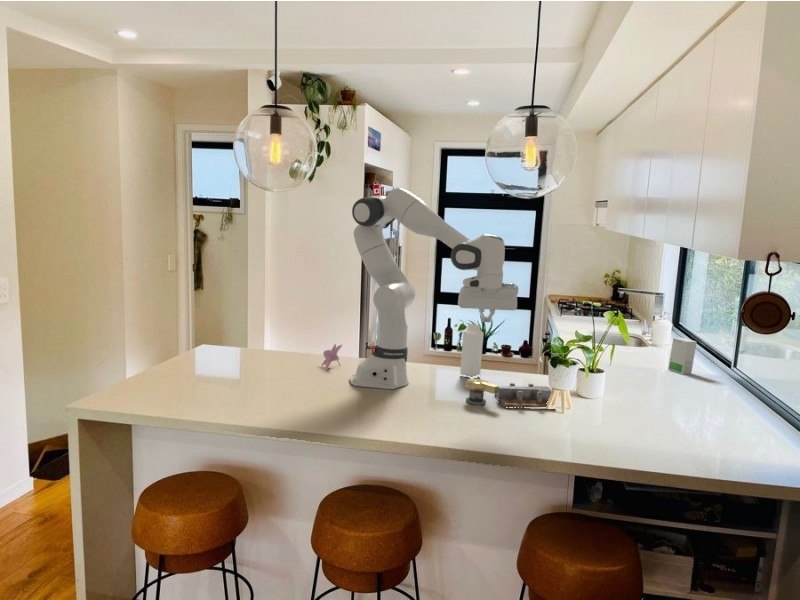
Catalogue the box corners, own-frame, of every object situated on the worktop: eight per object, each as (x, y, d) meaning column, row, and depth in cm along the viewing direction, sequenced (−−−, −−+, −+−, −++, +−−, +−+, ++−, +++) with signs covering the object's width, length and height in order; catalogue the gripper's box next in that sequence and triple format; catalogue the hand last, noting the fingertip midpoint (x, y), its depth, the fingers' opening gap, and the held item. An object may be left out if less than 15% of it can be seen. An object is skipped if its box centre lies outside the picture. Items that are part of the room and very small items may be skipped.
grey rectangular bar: (499, 400, 200) (500, 389, 200) (495, 395, 205) (496, 384, 205) (551, 401, 202) (552, 390, 202) (546, 397, 207) (547, 386, 206)
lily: (324, 364, 244) (315, 346, 240) (350, 355, 244) (342, 337, 239) (324, 380, 233) (315, 361, 229) (351, 370, 233) (343, 352, 229)
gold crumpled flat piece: (461, 386, 200) (461, 380, 200) (474, 383, 206) (475, 376, 206) (489, 395, 192) (489, 388, 192) (502, 391, 198) (503, 384, 198)
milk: (471, 379, 230) (475, 326, 227) (459, 376, 234) (463, 323, 231) (480, 377, 234) (484, 325, 231) (468, 374, 239) (472, 322, 235)
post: (468, 405, 197) (469, 391, 197) (464, 398, 204) (465, 385, 204) (487, 405, 198) (489, 391, 197) (483, 399, 205) (484, 385, 204)
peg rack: (505, 408, 196) (506, 393, 195) (494, 395, 210) (496, 381, 209) (555, 409, 198) (557, 394, 197) (542, 397, 212) (543, 383, 211)
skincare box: (667, 369, 268) (671, 337, 266) (677, 369, 271) (681, 337, 269) (682, 374, 261) (687, 341, 259) (692, 373, 264) (697, 340, 262)
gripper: (516, 282, 199) (512, 321, 200) (458, 279, 196) (455, 319, 198) (521, 284, 192) (518, 324, 194) (462, 281, 190) (459, 322, 192)
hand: (486, 321), depth 196 cm, fingers closed
